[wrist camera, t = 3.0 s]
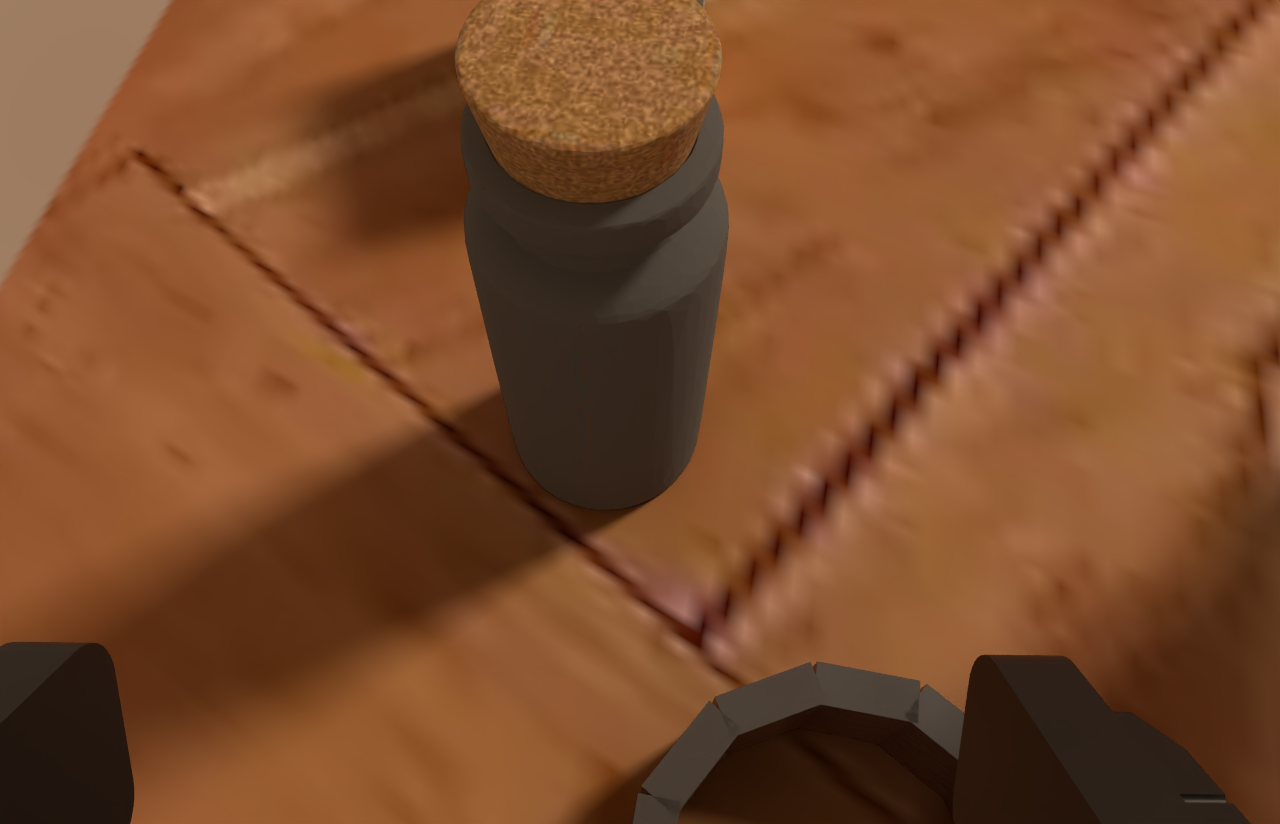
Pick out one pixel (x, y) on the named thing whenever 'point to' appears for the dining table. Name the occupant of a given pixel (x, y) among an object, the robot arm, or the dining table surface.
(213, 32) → the dining table surface
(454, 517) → the dining table surface
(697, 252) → the bottle
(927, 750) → the collar
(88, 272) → the dining table surface
